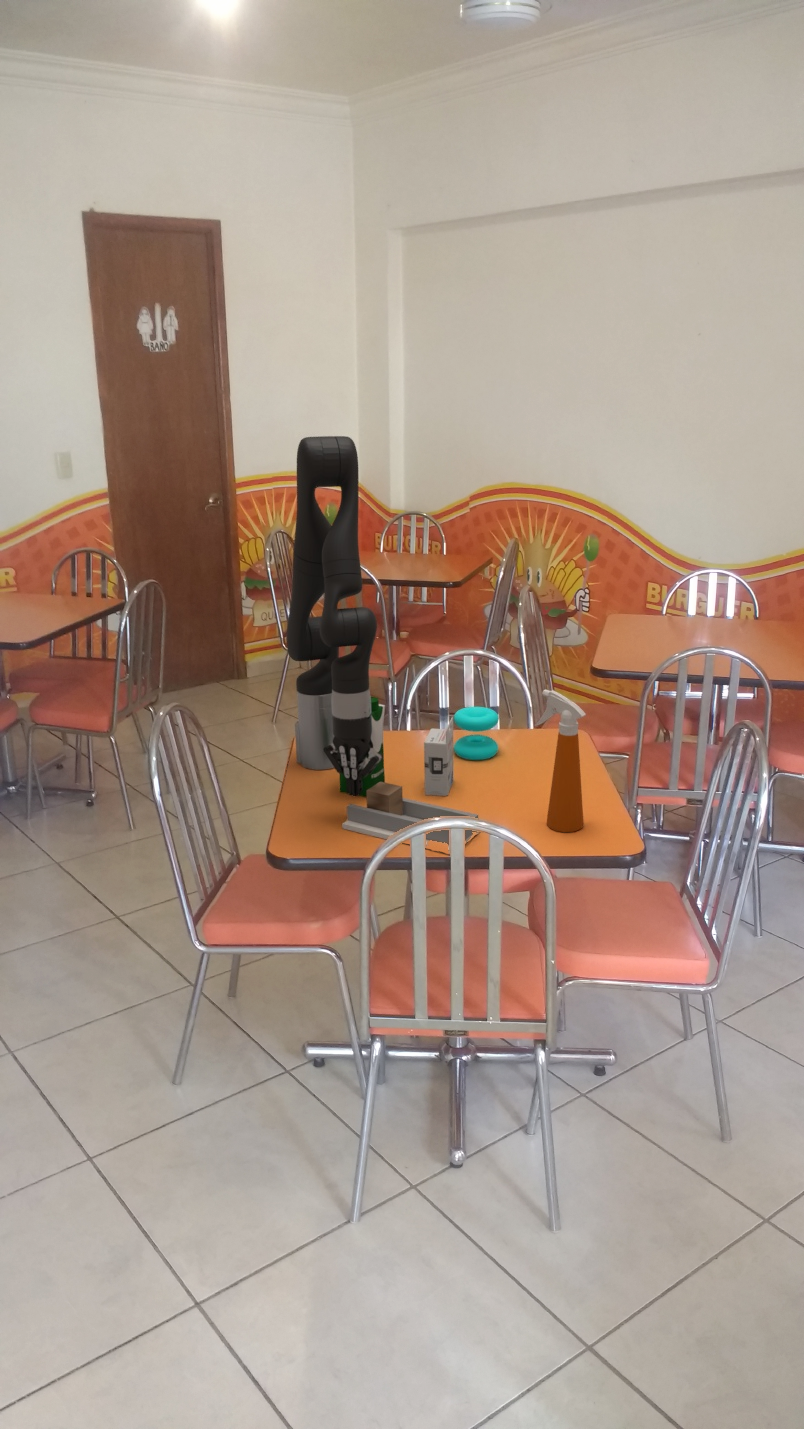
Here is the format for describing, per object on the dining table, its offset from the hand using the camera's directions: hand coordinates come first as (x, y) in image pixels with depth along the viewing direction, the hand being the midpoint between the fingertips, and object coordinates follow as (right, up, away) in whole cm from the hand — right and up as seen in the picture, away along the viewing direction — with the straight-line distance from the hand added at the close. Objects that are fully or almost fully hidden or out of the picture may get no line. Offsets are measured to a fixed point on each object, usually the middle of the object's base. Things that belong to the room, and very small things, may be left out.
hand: (354, 794), depth 203 cm
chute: (+11, -6, -5) cm, 14 cm away
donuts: (+26, +7, +32) cm, 42 cm away
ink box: (+17, 0, +14) cm, 22 cm away
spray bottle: (+39, -5, -3) cm, 40 cm away
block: (+6, -4, -2) cm, 8 cm away
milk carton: (+1, 0, +14) cm, 14 cm away
